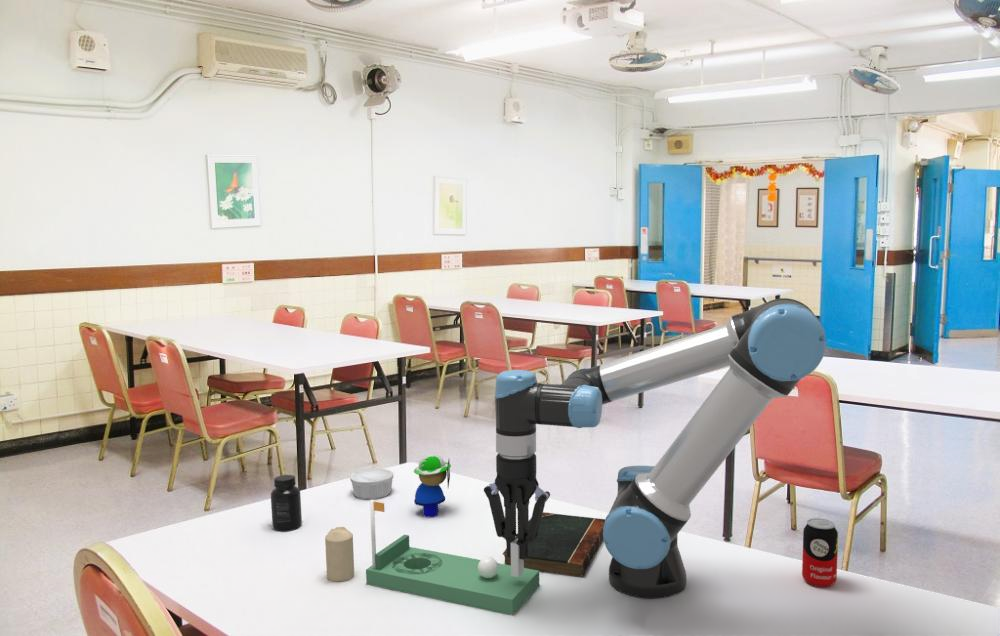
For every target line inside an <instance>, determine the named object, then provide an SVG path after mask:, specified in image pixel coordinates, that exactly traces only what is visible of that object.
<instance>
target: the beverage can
mask: <svg viewBox="0 0 1000 636" xmlns="http://www.w3.org/2000/svg"><path fill="white" fill-rule="evenodd" d="M802 535H803V537H802V559H801V560H802V563H801V565H802V566H801V575H802V578H803V579H804V580H805V582H806V583H808V584H809V585H811V586H814V587H820V588H827V587H830V586H833V584H835V583H836V582H837V578H838V577H837V574H838V555H839V554H838V552H839V551H838V549H839V547H838V546H839V532H838V530H837V528H836V523H835V522H833V521H832V520H829V519H826V518H825V519H824V518H819V517H817V518H815V517H814V518H809V519H807V521H806V525H805V526H804V528H803V534H802Z"/></svg>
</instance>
